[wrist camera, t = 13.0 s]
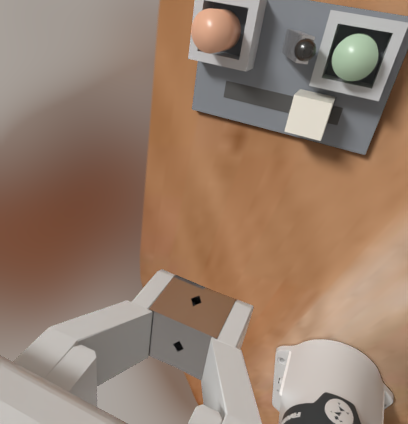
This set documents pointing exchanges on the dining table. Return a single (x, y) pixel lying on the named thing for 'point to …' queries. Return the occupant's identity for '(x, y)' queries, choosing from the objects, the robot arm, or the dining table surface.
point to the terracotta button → (215, 30)
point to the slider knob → (309, 114)
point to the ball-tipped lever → (299, 46)
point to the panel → (298, 67)
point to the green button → (355, 57)
